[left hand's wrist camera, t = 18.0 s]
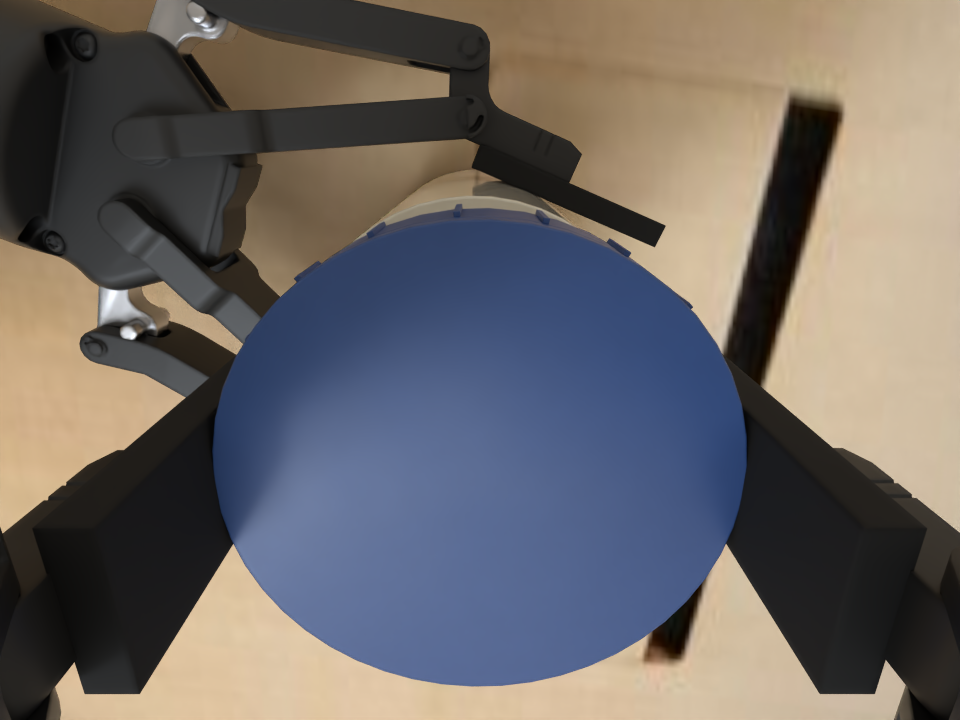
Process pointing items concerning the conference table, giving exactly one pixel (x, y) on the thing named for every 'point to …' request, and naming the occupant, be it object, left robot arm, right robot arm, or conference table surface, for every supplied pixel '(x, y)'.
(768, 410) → the left robot arm
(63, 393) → the conference table surface
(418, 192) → the jar
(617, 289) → the lid
